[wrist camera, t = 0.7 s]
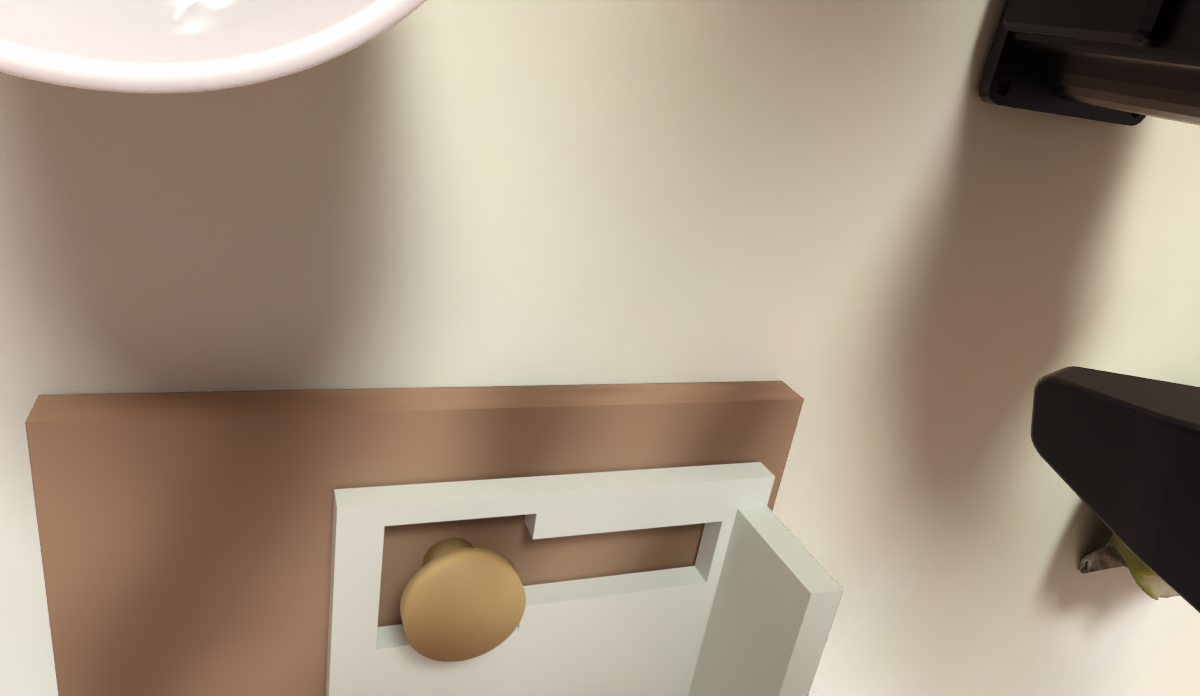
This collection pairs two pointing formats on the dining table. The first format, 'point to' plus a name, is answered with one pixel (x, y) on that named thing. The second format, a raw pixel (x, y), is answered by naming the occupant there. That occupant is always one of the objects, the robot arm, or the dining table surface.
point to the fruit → (1122, 556)
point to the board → (305, 516)
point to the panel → (598, 592)
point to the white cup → (183, 40)
